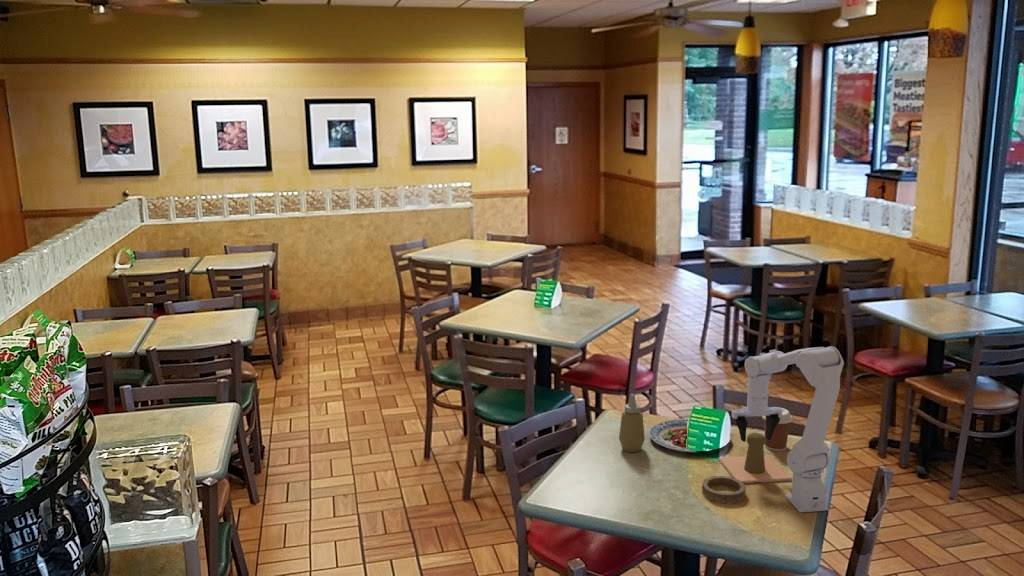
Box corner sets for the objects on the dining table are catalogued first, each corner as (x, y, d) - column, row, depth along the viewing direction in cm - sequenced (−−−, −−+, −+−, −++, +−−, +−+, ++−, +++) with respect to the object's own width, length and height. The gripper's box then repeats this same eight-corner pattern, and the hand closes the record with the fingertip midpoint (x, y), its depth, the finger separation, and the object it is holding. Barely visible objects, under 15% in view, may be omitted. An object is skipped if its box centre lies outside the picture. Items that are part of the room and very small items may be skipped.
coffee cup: (755, 441, 263) (757, 406, 260) (783, 440, 264) (785, 404, 261) (767, 453, 254) (769, 417, 251) (795, 451, 255) (798, 415, 252)
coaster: (791, 480, 236) (791, 477, 236) (737, 483, 234) (737, 481, 234) (769, 457, 251) (769, 454, 251) (718, 460, 250) (718, 457, 250)
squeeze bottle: (613, 446, 261) (614, 393, 257) (635, 441, 265) (636, 388, 261) (627, 456, 254) (628, 401, 250) (649, 451, 257) (650, 396, 253)
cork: (764, 465, 244) (765, 430, 242) (766, 474, 238) (768, 439, 236) (743, 464, 245) (744, 429, 243) (745, 473, 239) (746, 438, 237)
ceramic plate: (740, 433, 270) (740, 425, 269) (716, 464, 248) (717, 455, 247) (665, 420, 282) (665, 411, 282) (636, 447, 261) (637, 439, 260)
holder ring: (751, 501, 224) (751, 493, 223) (710, 504, 223) (710, 496, 222) (735, 482, 235) (736, 474, 235) (697, 485, 234) (697, 477, 233)
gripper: (776, 389, 242) (773, 432, 245) (728, 392, 241) (726, 435, 244) (786, 398, 235) (783, 442, 238) (737, 400, 234) (735, 445, 237)
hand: (755, 439), depth 241 cm, fingers open, 7 cm apart
